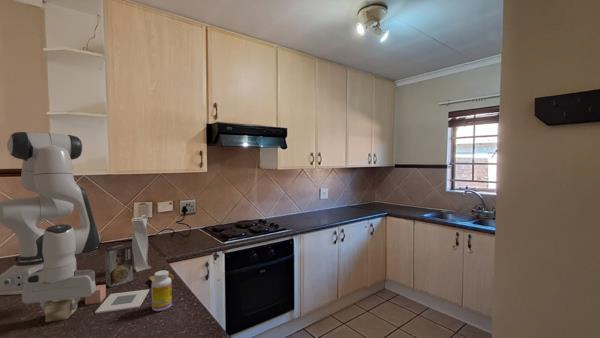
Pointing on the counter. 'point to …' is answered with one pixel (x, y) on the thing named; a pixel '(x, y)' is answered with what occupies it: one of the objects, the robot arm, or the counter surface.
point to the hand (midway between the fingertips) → (61, 311)
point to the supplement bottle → (161, 291)
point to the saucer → (168, 276)
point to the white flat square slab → (123, 301)
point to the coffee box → (118, 265)
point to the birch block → (58, 310)
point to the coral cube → (96, 295)
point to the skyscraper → (140, 244)
